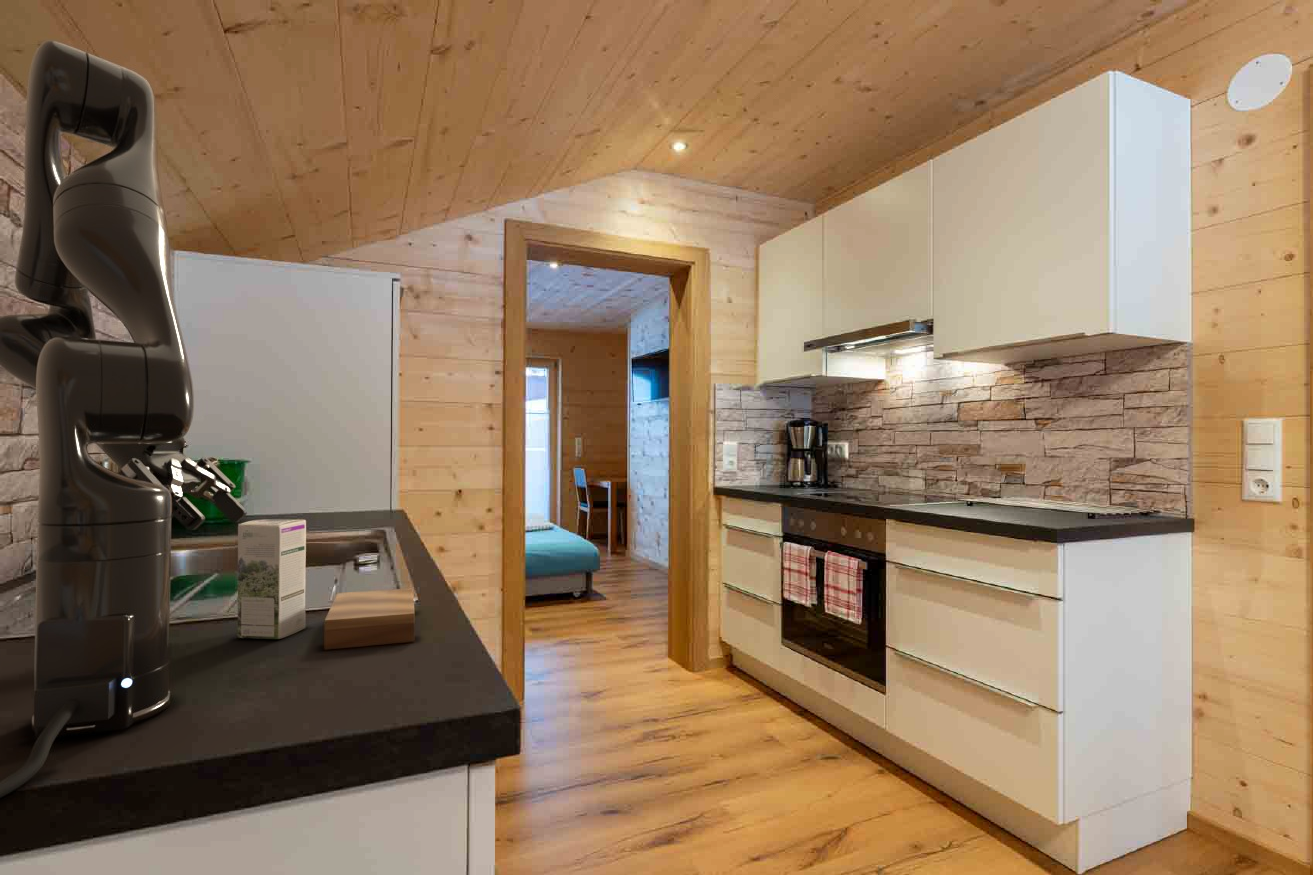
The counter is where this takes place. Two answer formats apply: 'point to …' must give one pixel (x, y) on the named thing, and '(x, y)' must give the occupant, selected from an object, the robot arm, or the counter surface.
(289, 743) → the counter surface
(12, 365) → the robot arm
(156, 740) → the counter surface
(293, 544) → the syrup box
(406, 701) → the counter surface
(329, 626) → the shelf
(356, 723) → the counter surface
